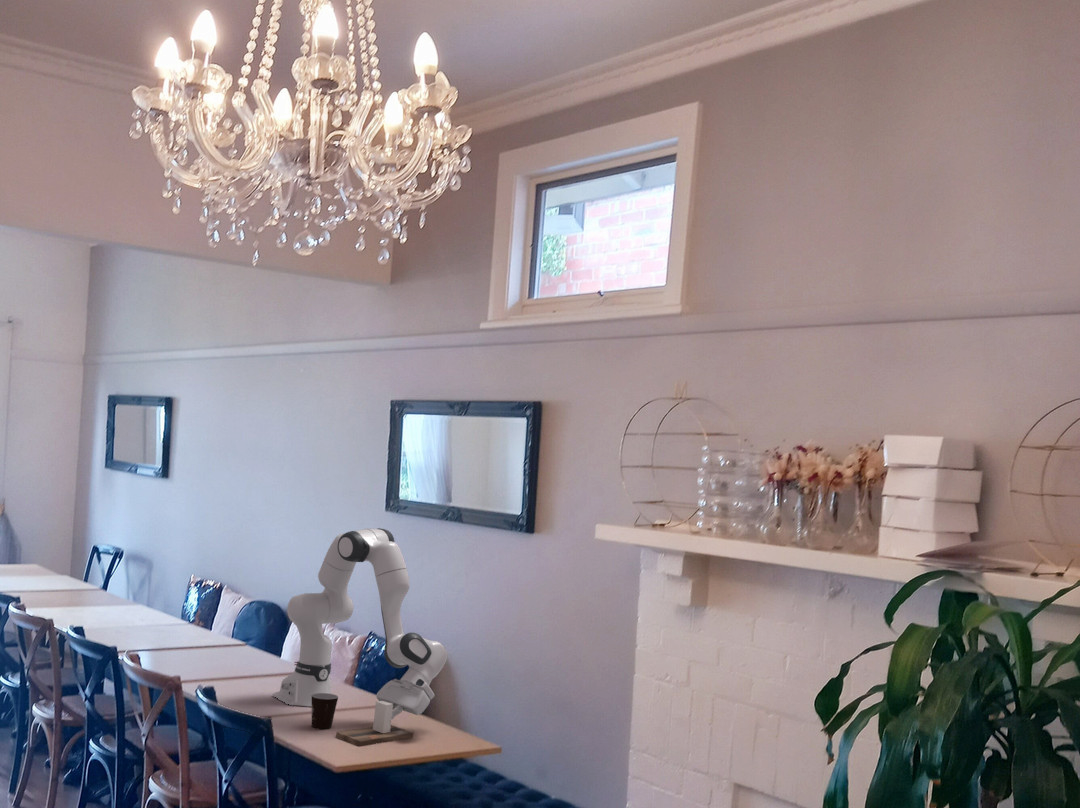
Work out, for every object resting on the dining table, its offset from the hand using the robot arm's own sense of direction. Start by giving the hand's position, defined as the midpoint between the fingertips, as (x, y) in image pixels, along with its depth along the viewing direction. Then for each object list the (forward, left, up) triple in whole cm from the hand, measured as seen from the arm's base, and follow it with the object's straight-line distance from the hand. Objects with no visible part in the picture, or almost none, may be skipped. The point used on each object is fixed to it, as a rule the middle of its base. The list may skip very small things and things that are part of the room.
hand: (387, 717), depth 329 cm
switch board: (0, -5, -6) cm, 7 cm away
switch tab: (0, -2, -4) cm, 5 cm away
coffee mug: (-17, -14, -6) cm, 23 cm away
